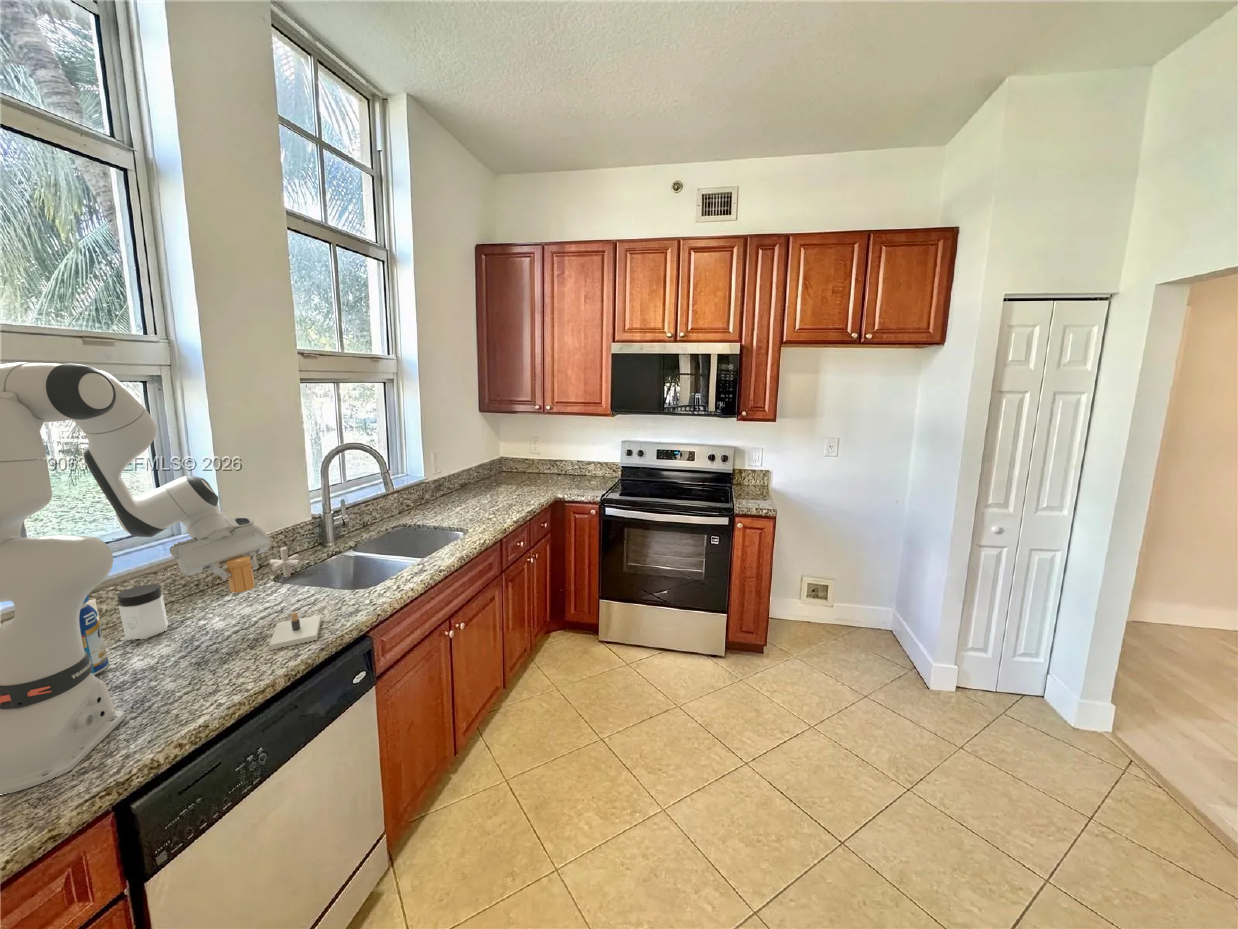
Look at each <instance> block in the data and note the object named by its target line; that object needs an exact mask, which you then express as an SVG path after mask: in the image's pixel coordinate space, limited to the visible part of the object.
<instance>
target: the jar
mask: <svg viewBox="0 0 1238 929" xmlns="http://www.w3.org/2000/svg"><path fill="white" fill-rule="evenodd" d="M117 601H118V605H119V606H118V609H119V614H120V619H121V623H122V628H123V632H124V633H123V634H124V637H125V641H135V640H134V639H140V640H147V639H149V637H150V638H152V637H154V636H157V635H159V633H160V634H163V633H164V631H165V632H167V631H168V626H169V621H168V616H167V611H166V606H165V600H164V595H163V592H162V588H161V585H160V584H156V583H155V584H154V583H150V584H149V583H147V584H142V585H137V586H135V587H134V586H133V587H130V588H127V589H125V590H123V591H120V593H118V594H117ZM131 639H132V640H131Z"/></svg>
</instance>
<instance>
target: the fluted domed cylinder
mask: <svg viewBox="0 0 1238 929" xmlns="http://www.w3.org/2000/svg"><path fill="white" fill-rule="evenodd" d="M225 565H226V568H225V570H229V571H230V573H231V574H232V576H231V578H229V579H227V581H228V585H229V592H230V593H235V594H236V593H237V594H238V593H243V592H247V591H250V590H251V589H254V587H255V586H256V583H255V576H254V570H253V569H252V563H251V559H250V557H248V556H242V557H236V558H232V559H230V560H228V561H226V564H225Z"/></svg>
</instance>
